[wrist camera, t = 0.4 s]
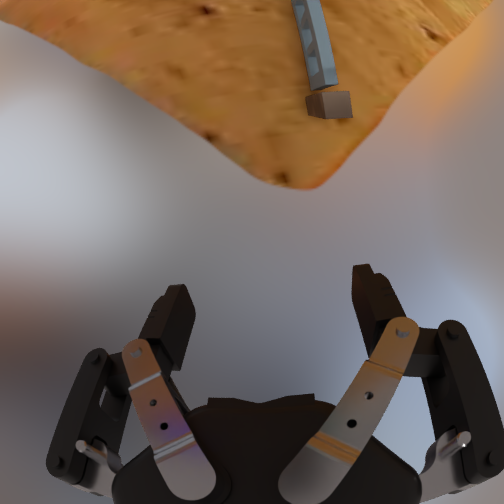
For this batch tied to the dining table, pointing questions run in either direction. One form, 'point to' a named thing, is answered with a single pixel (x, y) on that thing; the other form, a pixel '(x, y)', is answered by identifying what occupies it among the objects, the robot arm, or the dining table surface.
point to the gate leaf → (315, 44)
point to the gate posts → (330, 105)
